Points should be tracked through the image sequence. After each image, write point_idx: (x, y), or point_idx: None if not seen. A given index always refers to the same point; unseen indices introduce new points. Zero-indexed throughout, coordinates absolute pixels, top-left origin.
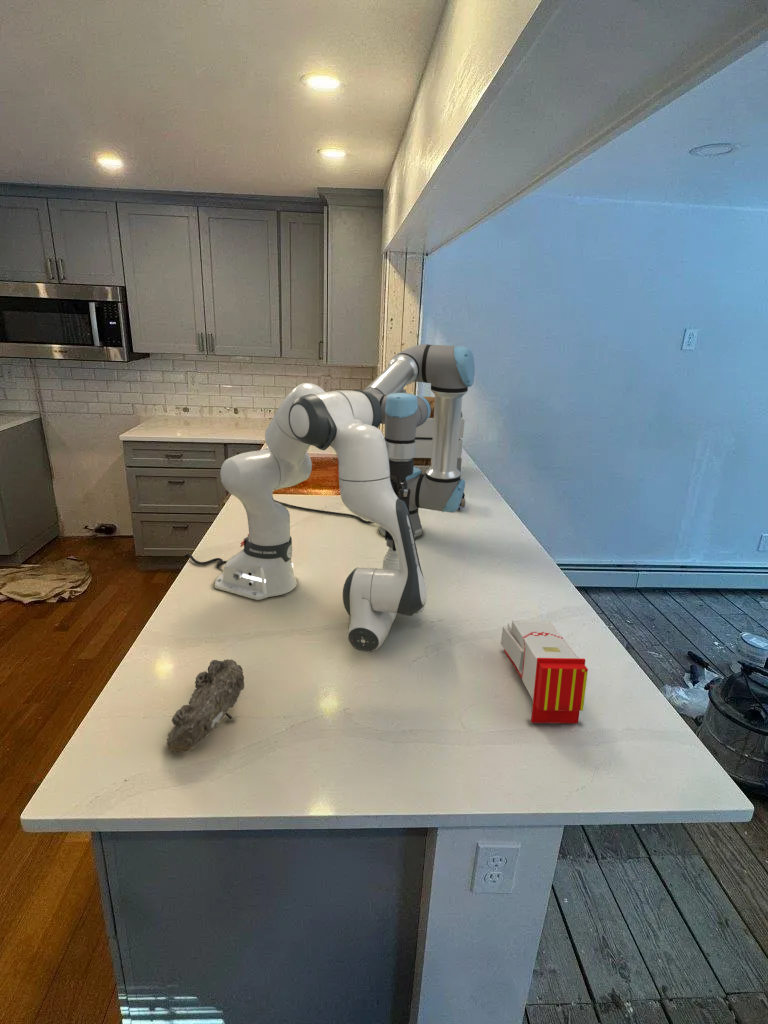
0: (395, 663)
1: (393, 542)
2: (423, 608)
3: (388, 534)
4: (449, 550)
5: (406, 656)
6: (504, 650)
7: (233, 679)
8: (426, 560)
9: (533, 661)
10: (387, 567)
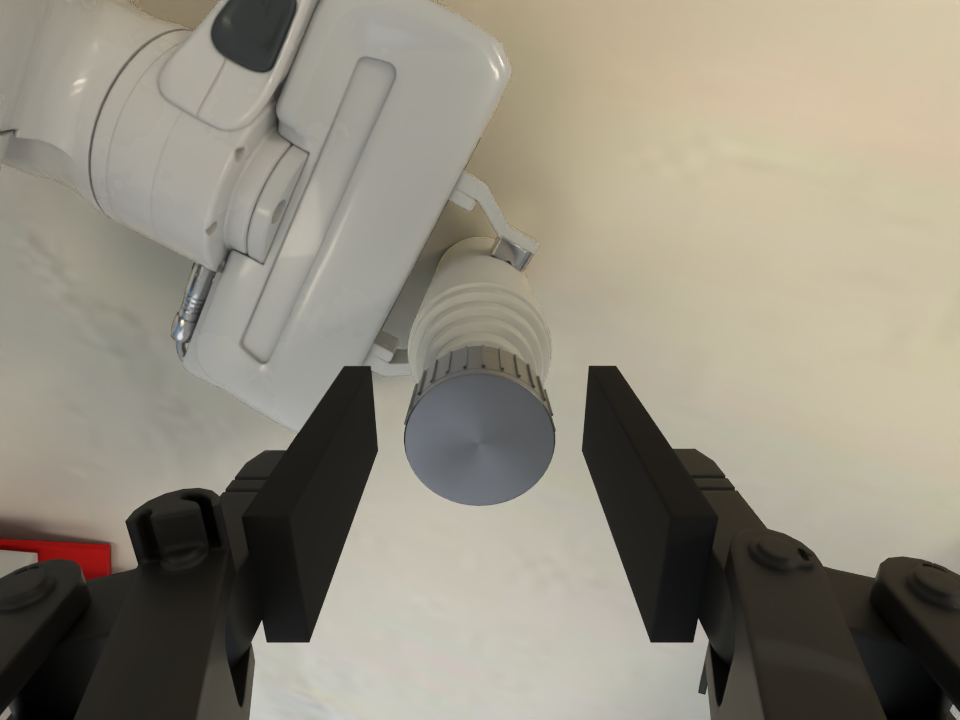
0: None
1: (333, 399)
2: (200, 377)
3: (600, 413)
4: None
5: (63, 221)
6: (101, 546)
7: None
8: (812, 537)
9: None
10: (433, 294)
